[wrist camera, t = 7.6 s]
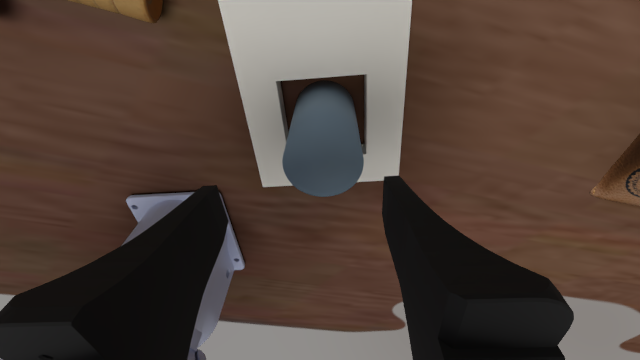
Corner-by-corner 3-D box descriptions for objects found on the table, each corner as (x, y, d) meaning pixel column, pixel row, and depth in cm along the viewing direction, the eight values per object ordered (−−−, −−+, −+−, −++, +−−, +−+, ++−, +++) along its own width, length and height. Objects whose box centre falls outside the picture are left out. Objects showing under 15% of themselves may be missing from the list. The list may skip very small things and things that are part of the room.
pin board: (394, 168, 23) (398, 179, 22) (266, 175, 24) (262, 187, 23) (429, -359, 11) (442, -402, 9) (156, -311, 11) (135, -345, 10)
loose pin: (354, 79, 19) (365, 125, 14) (353, 135, 22) (362, 195, 16) (292, 81, 19) (277, 129, 14) (298, 137, 22) (287, 197, 16)
